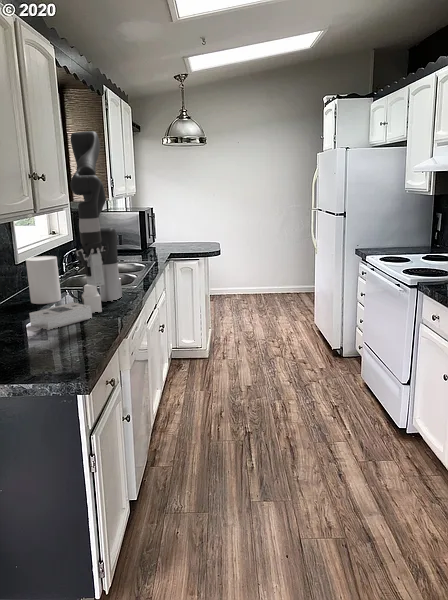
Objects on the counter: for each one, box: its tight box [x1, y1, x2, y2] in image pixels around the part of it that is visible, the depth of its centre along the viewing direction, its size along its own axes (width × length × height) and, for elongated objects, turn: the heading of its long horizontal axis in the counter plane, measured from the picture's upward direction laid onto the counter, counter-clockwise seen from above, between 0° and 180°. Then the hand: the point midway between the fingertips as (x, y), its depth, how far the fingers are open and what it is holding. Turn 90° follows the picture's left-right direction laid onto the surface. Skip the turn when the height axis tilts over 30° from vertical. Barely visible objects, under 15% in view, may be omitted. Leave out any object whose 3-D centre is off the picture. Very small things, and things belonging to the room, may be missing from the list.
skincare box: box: [83, 253, 104, 287], centre depth 194 cm, size 6×4×12 cm
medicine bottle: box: [81, 282, 103, 314], centre depth 216 cm, size 7×7×12 cm
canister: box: [25, 255, 62, 305], centre depth 237 cm, size 14×14×20 cm
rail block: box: [28, 301, 93, 331], centre depth 202 cm, size 20×12×5 cm, turn 142°
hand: (94, 274), depth 195 cm, fingers closed on skincare box, 4 cm apart
